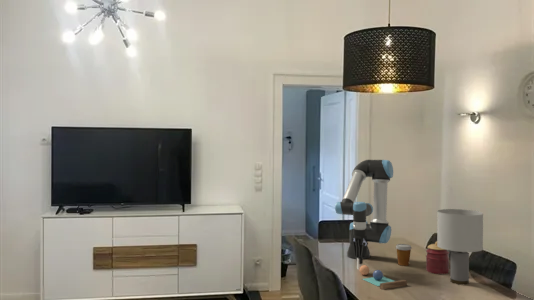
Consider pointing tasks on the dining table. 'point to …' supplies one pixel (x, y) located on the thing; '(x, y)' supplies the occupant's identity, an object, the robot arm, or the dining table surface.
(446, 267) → the canister
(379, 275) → the object ball
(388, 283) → the wall
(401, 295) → the dining table surface
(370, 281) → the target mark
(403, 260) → the disposable coffee cup
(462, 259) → the lamp
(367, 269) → the orange sphere
